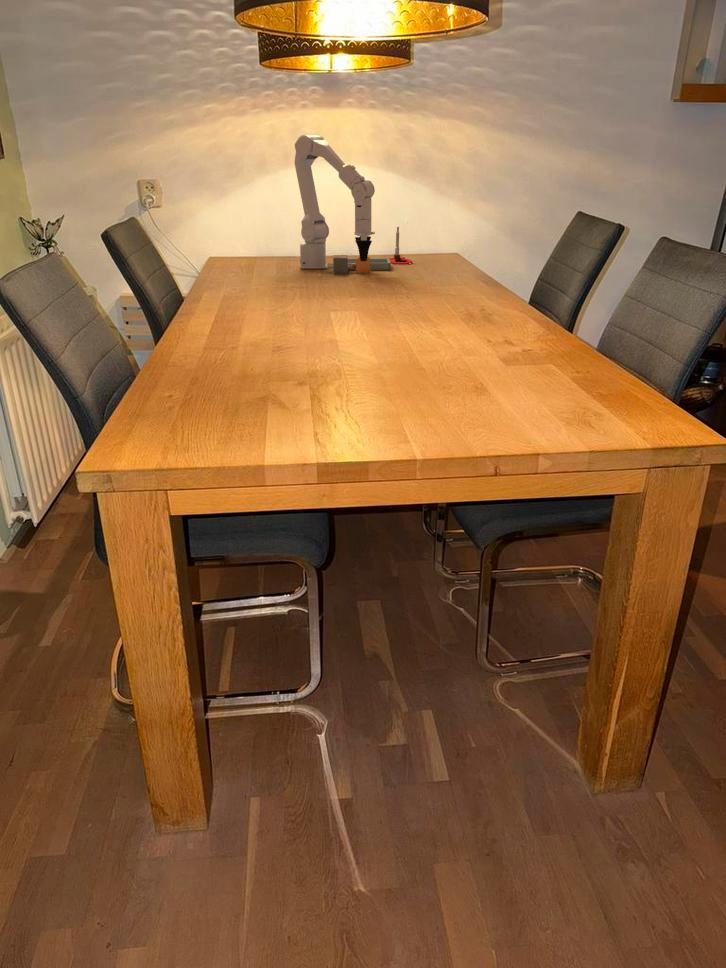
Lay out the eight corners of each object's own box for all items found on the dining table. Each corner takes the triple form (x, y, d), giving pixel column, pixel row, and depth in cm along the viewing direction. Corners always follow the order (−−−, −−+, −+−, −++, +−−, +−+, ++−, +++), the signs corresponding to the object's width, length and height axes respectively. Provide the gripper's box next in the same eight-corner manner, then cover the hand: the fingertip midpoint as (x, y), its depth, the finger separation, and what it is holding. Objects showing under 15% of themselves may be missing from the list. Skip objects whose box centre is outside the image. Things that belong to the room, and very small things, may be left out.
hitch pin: (327, 273, 261) (327, 258, 259) (328, 271, 265) (327, 257, 262) (370, 273, 262) (370, 258, 260) (369, 271, 265) (369, 257, 263)
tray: (335, 270, 267) (334, 263, 266) (335, 265, 277) (335, 258, 275) (390, 270, 267) (390, 263, 266) (388, 265, 277) (388, 258, 276)
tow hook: (415, 265, 280) (406, 260, 288) (417, 229, 274) (407, 225, 282) (395, 266, 278) (385, 261, 285) (396, 230, 272) (386, 226, 279)
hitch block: (333, 273, 260) (333, 258, 257) (333, 270, 266) (333, 255, 264) (347, 273, 260) (347, 258, 258) (347, 270, 266) (347, 255, 264)
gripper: (375, 220, 249) (375, 262, 255) (373, 216, 262) (373, 256, 268) (354, 220, 249) (355, 262, 255) (353, 216, 262) (354, 256, 268)
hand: (363, 259), depth 261 cm, fingers open, 7 cm apart
